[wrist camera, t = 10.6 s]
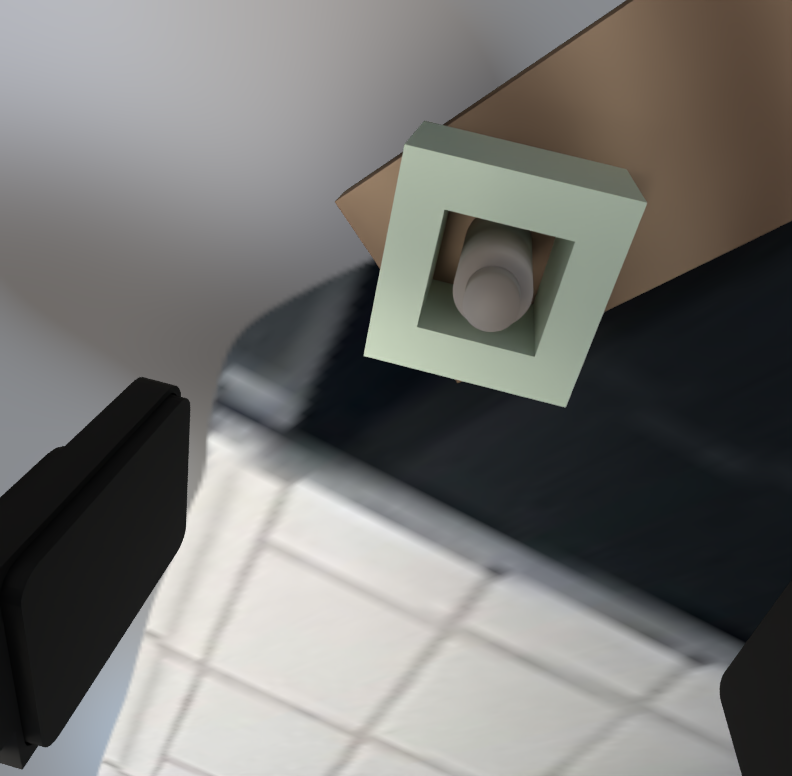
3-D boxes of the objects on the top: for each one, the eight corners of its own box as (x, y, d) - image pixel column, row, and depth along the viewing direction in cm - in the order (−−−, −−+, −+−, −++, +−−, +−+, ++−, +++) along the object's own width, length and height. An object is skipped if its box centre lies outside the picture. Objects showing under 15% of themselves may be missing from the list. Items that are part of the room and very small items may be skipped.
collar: (559, 348, 24) (565, 407, 20) (386, 305, 24) (363, 355, 20) (626, 169, 20) (647, 203, 17) (424, 120, 20) (404, 144, 17)
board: (461, 364, 26) (438, 491, 19) (345, 191, 24) (271, 267, 17) (1224, -17, 17) (1691, -29, 10) (1178, -374, 14) (1771, -716, 8)
